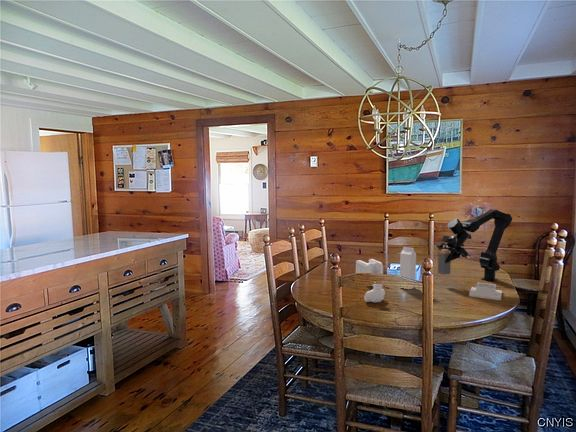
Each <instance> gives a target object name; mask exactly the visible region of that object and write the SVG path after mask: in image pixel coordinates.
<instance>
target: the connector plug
mask: <svg viewBox="0 0 576 432" xmlns="http://www.w3.org/2000/svg"><path fill="white" fill-rule="evenodd" d="M449 252H450V251H449V250H447V249H441V251H440V252H438V253H437V255H438V256H437V257H438V258H437V261H438V262H437V273H438V274H440V275H450V274H451V263H452V261H450V262H448V263H445V261H446V259H447V257H448V256H449V255H450V253H449Z"/></svg>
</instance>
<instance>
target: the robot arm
mask: <svg viewBox="0 0 576 432" xmlns="http://www.w3.org/2000/svg"><path fill="white" fill-rule="evenodd" d="M491 220H494V221H493V224H494V230H493V232H492V235H491V237H490V240H489V243H488V246H487V249H486V250H485V251H481V252H480V256H479V260H478V261H479V265H480V267H481V268H482V269H483V270H484V271H483V272H484V273H483V274H484V275H483V277H482V278H481V280H482V281H483V280H484V281H488V282H495V281H497V280H499V278H496V272H497V271H500V268H501V266H500V264H499V262H497V261H498V256H497V251H498V249H499V246H500V244H501V241H502V238H503V235H504V233H505V230H506V229H507V228H509V226H510V225H511V223H512V221H513V217H512V215H511V214H510V213H505V212H502V211H500V210H498V209H493V208H492V209H491V208H490V209H489V210H488V211H485V212H484V213H482V214H480V215H479V216H477V217H475V218H472V219H471V218H470V219H466V220H464V221H462V222H461V221H460V219H459V218H454V219H453V220H451V221H448V223H447V228H448V229H449V230H450V231H451V233H453V235H452V236H448V235H443V236H442V238H441V242H440V241H439V242H437V243H436V244H435V247H437V250H439V252H441V249H447V250H449V252H450V255H449V256H448V257H447V259H446V261H445V263H448V262H450V261H451V262H452V261H454V260H456V259H459V258H464V259H466V258H468V255H469V253H468V251H467V250H466V249H465V248H464V246H465V245H464V244H465V242H466V241H467V239H468V240H472V235H471V233H475V232H477V231H478V230H479V229H480V227H481V226H482V225H483V224H486V223H487V222H489V221H491Z"/></svg>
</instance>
